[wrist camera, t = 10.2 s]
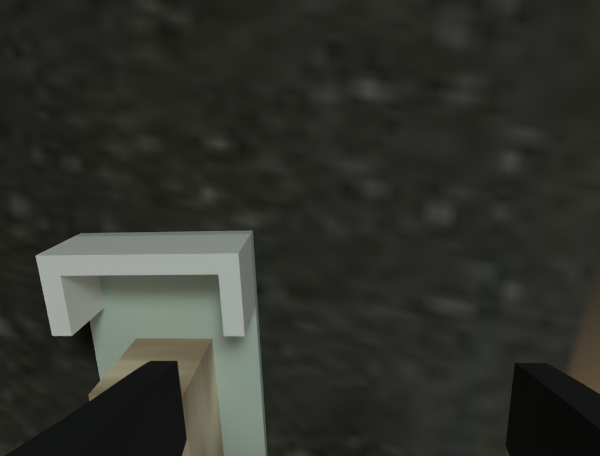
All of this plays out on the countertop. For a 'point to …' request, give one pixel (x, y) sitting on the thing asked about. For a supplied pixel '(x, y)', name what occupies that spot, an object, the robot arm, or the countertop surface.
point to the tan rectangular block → (193, 380)
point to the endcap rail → (168, 308)
